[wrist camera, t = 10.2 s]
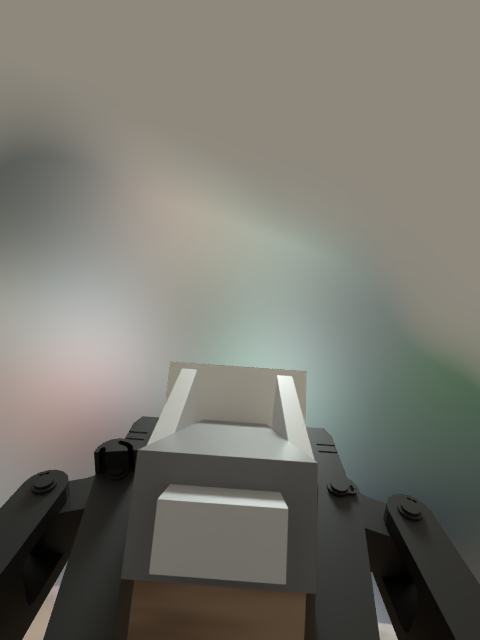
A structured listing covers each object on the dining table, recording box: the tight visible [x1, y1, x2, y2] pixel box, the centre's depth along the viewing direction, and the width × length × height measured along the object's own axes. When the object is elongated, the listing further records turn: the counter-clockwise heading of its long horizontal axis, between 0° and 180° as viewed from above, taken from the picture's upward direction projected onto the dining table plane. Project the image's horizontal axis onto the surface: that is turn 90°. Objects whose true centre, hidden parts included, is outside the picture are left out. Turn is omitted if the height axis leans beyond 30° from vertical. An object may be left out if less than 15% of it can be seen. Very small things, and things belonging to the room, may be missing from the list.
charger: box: [121, 362, 318, 594], centre depth 19 cm, size 25×9×6 cm, turn 0°
